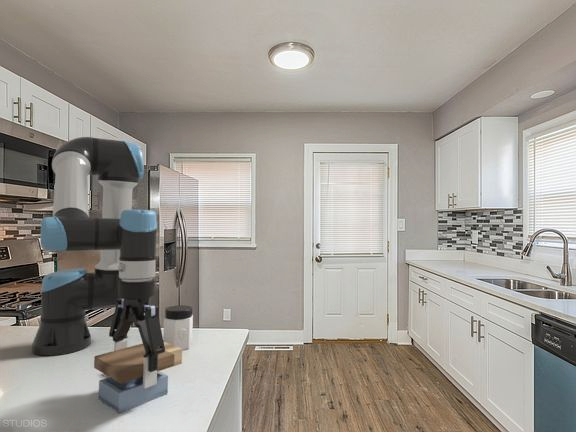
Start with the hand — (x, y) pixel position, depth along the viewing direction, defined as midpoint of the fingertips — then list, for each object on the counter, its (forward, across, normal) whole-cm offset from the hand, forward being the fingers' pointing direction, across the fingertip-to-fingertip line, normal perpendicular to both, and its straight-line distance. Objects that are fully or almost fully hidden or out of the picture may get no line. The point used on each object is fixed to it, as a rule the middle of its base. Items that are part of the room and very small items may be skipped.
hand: (134, 377), depth 78 cm
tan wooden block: (+4, -12, +11) cm, 17 cm away
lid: (-2, 0, 0) cm, 2 cm away
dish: (+4, 0, 0) cm, 4 cm away
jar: (+4, -20, +25) cm, 32 cm away
